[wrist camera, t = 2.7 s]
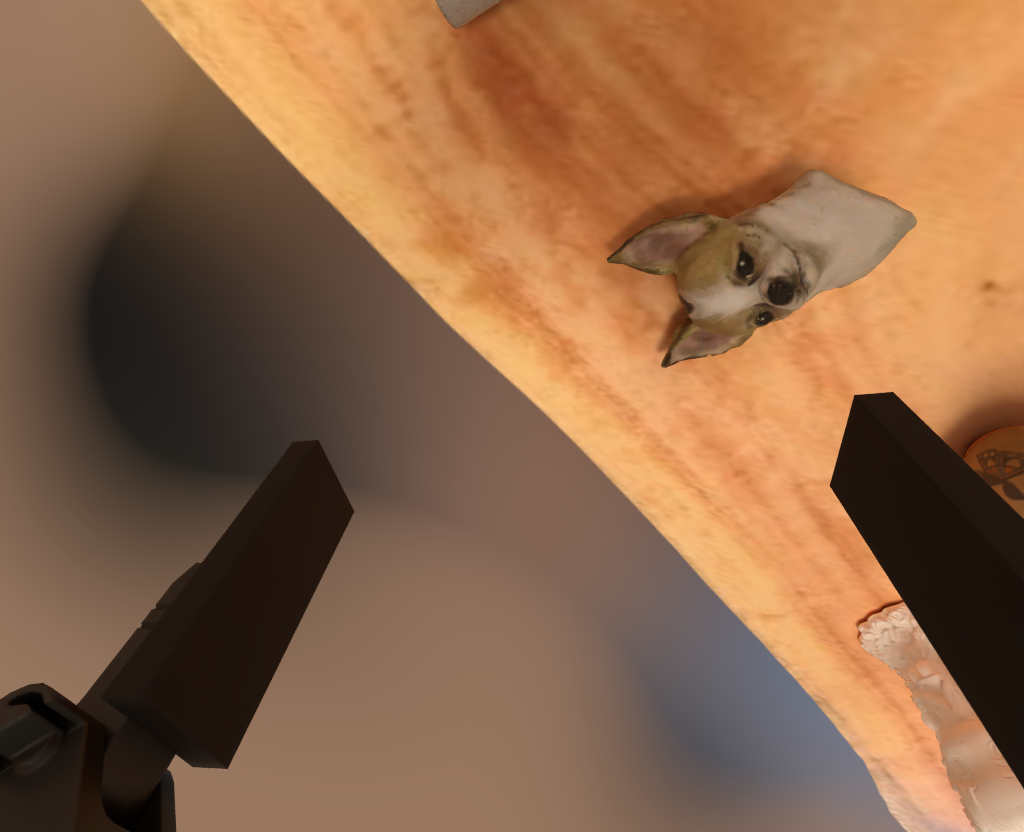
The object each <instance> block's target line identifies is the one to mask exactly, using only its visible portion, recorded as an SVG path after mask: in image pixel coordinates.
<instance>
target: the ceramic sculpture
mask: <svg viewBox="0 0 1024 832" xmlns="http://www.w3.org/2000/svg"><path fill="white" fill-rule="evenodd" d="M916 223H917V220H916V218H915V217H914V215H913V214H912V213H911V212H909V211H907V210H905V209H903V208H901V207H900V206H898V205H897V204H895V203H894V202H892V201H890V200H889V199H887V198H885V197H881V196H879V195H876V194H873V193H870V192H868V191H865V190H862V189H860V188H857V187H854V186H851V185H849V184H847V183H845V182H843V181H840V180H838V179H836V178H834V177H832V176H830V175H829V174H827V173H825V172H823V171H821V170H813V169H812V170H809V171H806V172H804V173H803V174H802V175H801V176H800V177H799V178H798V179H797V180H796V181H795V182H794V183H793V184H792V185H791V186H790V188H789V189H788V190H786V191H785V192H783V193H782V194H780V195H779V196H777V197H776V198H774V199H772V200H771V201H769V202H767V203H762V204H760V205H759V206H757V207H754V208H749V209H745V210H744V211H743V212H741V213H739V214H737V215H734V216H732V217H730V218H728V219H727V218H722V217H718V216H715V215H713V214H709V213H700V212H688V213H685V214H682V215H676V216H673V217H669V218H666V219H662V220H660V221H658V222H656V223H653V224H651V225H650V226H648V227H646V228H645V229H643V230H642V231H640V232H638V233H637V234H635V235H634V236H633V237H631V238H630V239H628V240H627V241H626V242H625V243H624V244H623V245H622V246H621V247H620V248H619V249H618V250H617V251H615V252H614V253H613V254H612V255H611V256H609V257H608V258H607V261H608V263H616V264H624V265H627V266H629V267H632V268H634V269H637V270H640V271H643V272H646V273H649V274H654V275H668V274H672V273H674V274H675V275H676V276H677V288H678V294H679V298H680V300H681V302H682V304H683V306H684V309H685V311H686V313H687V314H688V316H689V317H690V318H688V319H686V320H684V321H682V322H681V323H680V324H679V325H678V326H677V327H676V329H675V332H674V334H673V337H672V340H671V343H670V345H669V348H668V351H667V353H666V355H665V357H664V359H663V361H662V364H661V366H662V368H666V367H669V366H671V365H674V364H676V363H678V362H679V361H682V360H687V359H695V358H701V357H706V356H707V355H712V356H715V355H718V354H723V353H725V352H727V351H728V350H729V349H732V348H735V347H739V346H741V345H742V344H743V343H744V342H745V341H746V340H747V339H748V338H749V337H750V336H752V334H753V332H754V331H755V329H756V328H758V327H762V326H765V325H767V324H768V323H771V322H774V321H778V320H781V319H784V318H786V317H788V316H789V315H790V314H791V313H793V312H794V311H796V310H797V309H799V308H800V307H801V306H803V305H804V304H805V303H806V302H807V301H809V300H810V299H811V298H812V297H814V296H815V295H816V294H818V293H820V292H822V291H826V290H831V289H834V288H842V287H844V286H847V285H849V284H851V283H852V282H854V281H856V280H858V279H860V278H862V277H864V276H866V275H867V274H868V273H869V272H871V271H872V270H873V269H874V268H875V267H876V266H877V265H878V264H880V263H881V262H882V261H883V260H884V259H885V257H886V256H887V255H888V254H889V253H890V252H891V251H892V250H893V249H894V247H895V246H896V245H897V244H898V242H899V241H900V240H901V239H902V238H903V237H904V236H905V234H906V233H907V232H909V231H910V230H911V229H913V228H914V227H915V225H916Z"/></svg>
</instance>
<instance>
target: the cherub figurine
mask: <svg viewBox="0 0 1024 832" xmlns="http://www.w3.org/2000/svg"><path fill="white" fill-rule="evenodd" d="M858 630H859V631H860V632H861V635H860V637H859V640H860V642H861V646H862V648H863V649H864V650H865V651H867V652H871V655H872V656H874V657H875V658H878V659H880V660H882V661H883V662H884V663H885V664H887V665H888V666H889V668H890V669H891V670H894V669H896V673H897V674H898V675H901V677H902V678H903V679H904V680H905V683H904V684H905V685H906V687H908V688H910V691H911V692H912V695H911V696H910V697H911V698H912V699H913V700H912V701H913V702H915V704H916V706H917V708H918V709H919V710H920V711H922V713H921V717H922V720H923V722H924V723H925V724H926V725H927V726H928V727H930V728H931V729H933V730H935V732H936V733H935V734H936V738H937V740H938V741H939V742H940V743H939V745H940V750H941V755H942V758H943V759H942V764H943V765H944V766H946V769H947V774H948V778H949V781H950V784H951V786H952V789H953V790H954V791H957V792H959V794H960V796H961V799H960V801H961V803H962V805H963V806H964V807H965V808H963V811H964V812H965V813H966V816H967V818H968V819H969V820H970V821H971V826H972V827H973V828H974V829H975V830H976V832H1024V789H1023V787H1022V785H1021V784H1020V782H1019V781H1018V779H1017V778H1016V776H1015V775H1014V773H1013V771H1012V770H1011V768H1010V767H1009V765H1008V764H1007V762H1006V760H1005V759H1004V757H1003V756H1002V754H1001V753H1000V751H999V750H998V748H997V746H996V745H995V743H994V742H993V740H992V739H991V737H990V735H989V734H988V732H987V731H986V729H985V728H984V726H983V725H982V723H981V721H980V720H979V718H978V717H977V715H976V714H975V712H974V710H973V709H972V707H971V706H970V704H969V703H968V701H967V700H966V698H965V696H964V695H963V693H962V692H961V690H960V689H959V687H958V685H957V684H956V682H955V681H954V679H953V678H952V676H951V675H950V673H949V671H948V670H947V668H946V667H945V665H944V664H943V662H942V660H941V659H940V657H939V656H938V654H937V653H936V651H935V649H934V648H933V646H932V645H931V643H930V642H929V640H928V639H927V637H926V635H925V634H924V632H923V631H922V629H921V628H920V626H919V624H918V623H917V621H916V620H915V618H914V617H913V615H912V614H911V612H910V610H909V609H908V607H907V606H906V604H905V603H904V602H902V603H900V604H897V605H893V606H890V607H887V608H884V609H883V611H882V612H880V613H877V614H873V615H871V616H870V617H869V618H868V621H867V622H864V623H862V624H860V625H859V626H858Z"/></svg>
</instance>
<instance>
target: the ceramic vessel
mask: <svg viewBox="0 0 1024 832" xmlns="http://www.w3.org/2000/svg"><path fill="white" fill-rule="evenodd" d="M963 460H964V461H965V462H966V463H967V464H968V465H969V466H970V467H971V468H972V469H973V470H974V471H975V472H976V473H977V474H978V475H979V476H980V477H981V478H982V479H983V480H984V481H985V482H986V483H987V484H988V485H989V486H990V487H991V488H992V489H993V490H995V491H996V492H997V493H998V494H999V495H1000V496H1001V497H1002V498H1003V499H1004V500H1005V501H1006V502H1007V503H1008V504H1009V505H1010V506H1011V507H1012V508H1013V509H1014V510H1015V511H1016V512H1017V513H1018V514H1019V515H1020V516H1021V517H1022V518H1023V519H1024V426H1011V427H1005V428H1001V429H997V430H994V431H992V432H989V433H987V434H985V435H983V436H981V437H980V438H979V439H977V440H976V441H975V442H974V443H973V444H972V445H971V446H970V447H969V449H968V450H967V452H966V453H965V455H964V457H963Z"/></svg>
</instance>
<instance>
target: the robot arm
mask: <svg viewBox="0 0 1024 832" xmlns="http://www.w3.org/2000/svg"><path fill="white" fill-rule="evenodd" d="M830 487H831V488H832V490H833V492H834V493H835V495H836V496H837V498H838V499H839V501H840V503H841V504H842V506H843V507H844V509H845V510H846V512H847V514H848V515H849V517H850V518H851V520H852V521H853V523H854V524H855V526H856V528H857V529H858V531H859V532H860V534H861V535H862V537H863V539H864V540H865V542H866V543H867V545H868V546H869V548H870V549H871V551H872V553H873V554H874V556H875V557H876V559H877V560H878V562H879V564H880V565H881V567H882V568H883V570H884V571H885V573H886V574H887V576H888V578H889V579H890V581H891V582H892V584H893V585H894V587H895V589H896V590H897V592H898V593H899V595H900V596H901V598H902V599H903V601H904V603H905V604H906V606H907V607H908V609H909V610H910V612H911V614H912V615H913V617H914V618H915V620H916V621H917V623H918V624H919V626H920V628H921V629H922V631H923V632H924V634H925V635H926V637H927V639H928V640H929V642H930V643H931V645H932V646H933V648H934V649H935V651H936V653H937V654H938V656H939V657H940V659H941V660H942V662H943V664H944V665H945V667H946V668H947V670H948V671H949V673H950V675H951V676H952V678H953V679H954V681H955V682H956V684H957V685H958V687H959V689H960V690H961V692H962V693H963V695H964V696H965V698H966V700H967V701H968V703H969V704H970V706H971V707H972V709H973V710H974V712H975V714H976V715H977V717H978V718H979V720H980V721H981V723H982V725H983V726H984V728H985V729H986V731H987V732H988V734H989V735H990V737H991V739H992V740H993V742H994V743H995V745H996V746H997V748H998V750H999V751H1000V753H1001V754H1002V756H1003V757H1004V759H1005V760H1006V762H1007V764H1008V765H1009V767H1010V768H1011V770H1012V771H1013V773H1014V775H1015V776H1016V778H1017V779H1018V781H1019V782H1020V784H1021V785H1022V787H1023V789H1024V519H1023V518H1022V517H1021V516H1020V515H1019V514H1018V513H1017V512H1016V511H1015V510H1014V509H1013V508H1012V507H1011V506H1010V505H1009V504H1008V503H1007V502H1006V501H1005V500H1004V499H1003V498H1002V497H1001V496H1000V495H999V494H998V493H997V492H996V491H995V490H993V489H992V488H991V487H990V486H989V485H988V484H987V483H986V482H985V481H984V480H983V479H982V478H981V477H980V476H979V475H978V474H977V473H976V472H975V471H974V470H973V469H972V468H971V467H970V466H969V465H968V464H967V463H966V462H965V461H964V460H963V459H962V458H960V457H959V456H958V455H957V454H956V453H955V452H954V451H953V450H952V449H951V448H950V447H949V446H948V445H947V444H946V443H945V442H944V441H943V440H942V439H941V438H940V437H939V436H938V435H937V434H936V433H935V432H934V431H933V430H932V429H931V428H930V427H929V426H928V425H926V424H925V423H924V422H923V421H922V420H921V419H920V418H919V417H918V416H917V415H916V414H915V413H914V412H913V411H912V410H911V409H910V408H909V407H908V406H907V405H906V404H905V403H904V402H903V401H902V400H901V399H900V398H899V397H898V396H897V395H896V394H895V393H893V392H887V393H875V394H863V395H854V399H853V402H852V406H851V410H850V414H849V417H848V421H847V425H846V428H845V432H844V436H843V439H842V443H841V447H840V450H839V454H838V458H837V461H836V465H835V469H834V472H833V476H832V480H831V483H830ZM353 513H354V510H353V508H352V506H351V504H350V502H349V500H348V498H347V496H346V494H345V492H344V490H343V488H342V486H341V484H340V482H339V480H338V478H337V476H336V474H335V472H334V470H333V468H332V466H331V464H330V462H329V460H328V458H327V456H326V454H325V452H324V450H323V448H322V447H321V444H320V442H319V441H318V440H313V441H302V442H293V443H292V444H291V445H290V447H289V448H288V449H287V451H286V452H285V453H284V455H283V456H282V457H281V459H280V460H279V461H278V463H277V464H276V465H275V467H274V468H273V469H272V471H271V472H270V473H269V475H268V476H267V477H266V479H265V480H264V481H263V482H262V484H261V485H260V486H259V488H258V489H257V490H256V492H255V493H254V495H253V496H252V497H251V498H250V500H249V501H248V502H247V504H246V505H245V506H244V508H243V509H242V510H241V512H240V513H239V514H238V516H237V517H236V518H235V520H234V521H233V522H232V524H231V525H230V526H229V528H228V529H227V530H226V532H225V533H224V534H223V536H222V537H221V538H220V540H219V541H218V542H217V543H216V545H215V546H214V548H213V549H212V550H211V552H210V553H209V554H208V555H207V557H206V558H205V560H204V561H203V562H202V563H196V564H194V565H193V566H192V567H191V568H190V569H189V570H187V571H186V572H185V573H184V574H183V575H182V576H180V577H179V578H178V579H177V580H176V581H175V582H173V583H172V585H171V586H170V587H169V589H168V590H167V591H166V592H165V594H164V595H163V596H162V598H161V599H160V600H159V601H158V603H157V604H156V608H155V609H152V610H151V612H150V613H149V614H148V616H147V617H146V618H145V619H144V621H143V622H142V623H141V624H142V626H141V628H137V630H136V631H135V632H134V633H133V635H132V636H131V637H130V639H129V640H128V641H127V642H126V644H125V645H124V646H123V647H122V649H121V650H120V651H119V653H118V654H117V655H116V656H115V658H114V659H113V660H112V662H111V663H110V664H109V665H108V667H107V668H106V669H105V671H104V672H103V673H102V674H101V676H100V677H99V678H98V679H97V681H96V682H95V683H94V685H93V686H92V687H91V688H90V690H89V691H88V692H87V694H86V695H85V696H84V697H83V699H82V700H81V701H80V702H79V703H78V704H77V705H75V704H74V703H72V702H71V701H70V700H68V699H67V698H65V697H64V696H63V695H61V694H60V693H58V692H57V691H55V690H54V689H53V688H51V687H49V686H48V685H45V684H44V683H40V684H31V685H27V686H25V687H22V688H20V689H18V690H16V691H13V692H11V693H9V694H8V695H6V696H5V697H3V698H2V699H0V832H176V817H175V796H174V781H173V778H172V775H171V772H170V771H168V770H167V768H168V766H169V764H170V763H171V761H172V759H173V758H174V756H175V754H176V755H178V756H179V757H180V758H181V759H183V760H184V761H186V762H187V763H189V765H191V766H192V767H202V768H222V769H228V767H229V765H230V763H231V761H232V759H233V757H234V755H235V753H236V751H237V749H238V747H239V745H240V742H241V741H242V738H243V737H244V734H245V732H246V731H247V728H248V726H249V724H250V722H251V720H252V718H253V716H254V714H255V712H256V710H257V708H258V706H259V704H260V702H261V700H262V698H263V696H264V694H265V692H266V690H267V688H268V686H269V684H270V682H271V680H272V678H273V676H274V674H275V672H276V670H277V667H278V666H279V663H280V661H281V659H282V657H283V655H284V653H285V651H286V649H287V647H288V645H289V643H290V641H291V639H292V637H293V635H294V633H295V631H296V629H297V627H298V625H299V623H300V621H301V619H302V617H303V615H304V612H305V611H306V609H307V606H308V604H309V602H310V600H311V598H312V596H313V594H314V592H315V590H316V588H317V586H318V584H319V582H320V580H321V578H322V576H323V574H324V572H325V570H326V568H327V566H328V564H329V562H330V560H331V558H332V556H333V554H334V552H335V550H336V548H337V546H338V544H339V542H340V539H341V537H342V536H343V533H344V531H345V529H346V527H347V525H348V523H349V521H350V519H351V517H352V515H353Z"/></svg>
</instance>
